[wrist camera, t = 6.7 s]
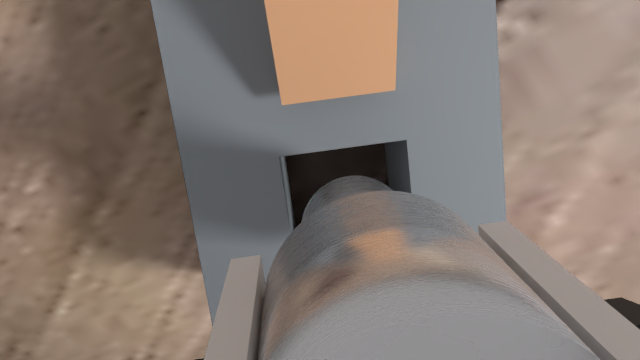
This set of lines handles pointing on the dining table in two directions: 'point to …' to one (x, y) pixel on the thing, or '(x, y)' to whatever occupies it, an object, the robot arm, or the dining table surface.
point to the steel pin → (400, 287)
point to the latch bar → (333, 47)
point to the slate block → (326, 121)
